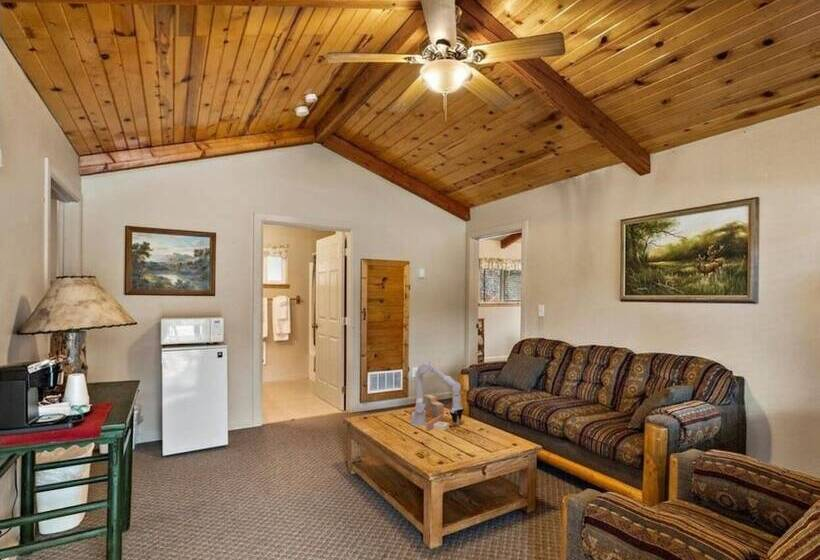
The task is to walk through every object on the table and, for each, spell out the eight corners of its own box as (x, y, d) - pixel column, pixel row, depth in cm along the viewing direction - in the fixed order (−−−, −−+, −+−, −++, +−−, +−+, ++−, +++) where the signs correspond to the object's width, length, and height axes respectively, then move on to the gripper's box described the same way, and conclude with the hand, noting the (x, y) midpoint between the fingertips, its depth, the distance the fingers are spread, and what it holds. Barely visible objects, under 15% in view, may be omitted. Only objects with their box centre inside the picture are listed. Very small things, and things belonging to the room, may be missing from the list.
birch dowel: (454, 426, 294) (454, 416, 294) (456, 425, 296) (455, 415, 296) (457, 427, 293) (457, 416, 293) (459, 426, 295) (459, 415, 295)
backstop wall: (426, 430, 286) (426, 423, 286) (439, 422, 303) (439, 415, 303) (429, 431, 285) (429, 423, 285) (442, 422, 302) (442, 415, 302)
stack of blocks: (443, 416, 319) (443, 400, 320) (436, 417, 317) (436, 401, 317) (430, 409, 338) (429, 393, 339) (422, 410, 336) (422, 394, 336)
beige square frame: (433, 428, 290) (433, 424, 290) (438, 425, 297) (438, 421, 297) (444, 430, 286) (444, 426, 286) (449, 426, 293) (449, 423, 293)
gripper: (457, 404, 286) (458, 424, 286) (466, 399, 299) (466, 418, 299) (448, 402, 290) (448, 423, 290) (456, 398, 303) (457, 417, 302)
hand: (456, 420), depth 294 cm, fingers open, 7 cm apart
